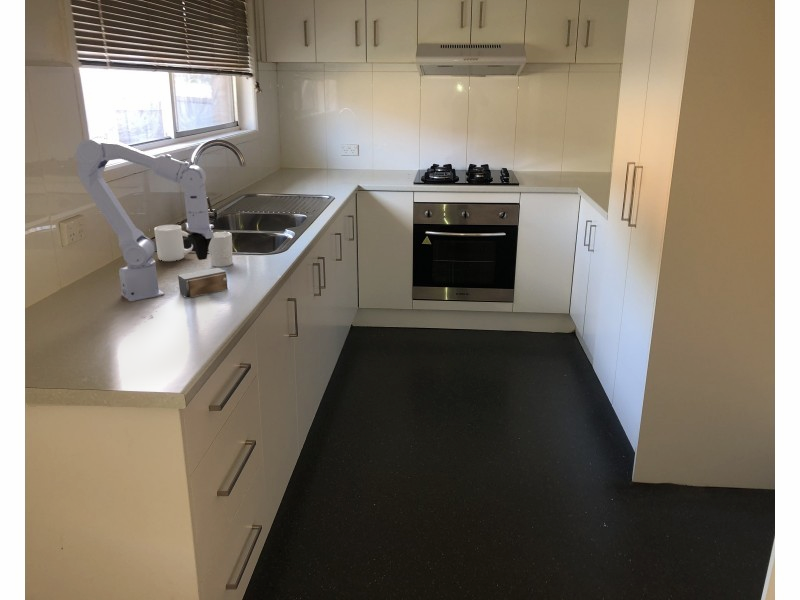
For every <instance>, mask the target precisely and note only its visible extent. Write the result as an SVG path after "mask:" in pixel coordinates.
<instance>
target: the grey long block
mask: <svg viewBox="0 0 800 600" xmlns="http://www.w3.org/2000/svg"><path fill="white" fill-rule="evenodd" d="M222 273H226V270H225V269H222V268H221V267H214V268H208V269H202V270H198V271H193V272H188V273H182V274H178V275H177V278H178V279H177V280H178V286H179V288H178V289H179V294H181V295H182V296H183V297H185V298H187V294H186V286H185V281H187V280H192V279H197V278H202V277H207V276H212V275H217V274H222ZM226 274H227V273H226Z"/></svg>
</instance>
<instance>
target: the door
mask: <svg viewBox="0 0 800 600" xmlns="http://www.w3.org/2000/svg"><path fill="white" fill-rule="evenodd" d="M185 286H186V294H187V297H186V299H187V298H189V299H190V298H194V297H199V296H204V295H208V294H212V293H217V292H221V291H226V290H228V288H229V287H228V277H227V273H222V274H217V275H212V276H207V277H202V278H197V279H192V280H187V281H185Z"/></svg>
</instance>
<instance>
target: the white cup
mask: <svg viewBox="0 0 800 600" xmlns="http://www.w3.org/2000/svg"><path fill="white" fill-rule="evenodd" d="M213 235H214V238H212V239H211V241H210V244H209V247H208V253H209V259H210V265H211V266H212V267H214V268H224V267H228V266H229V267H230V266H232V265H233V263H234V262H233V236H232V233H231V232H228V231H215V232H214V231H213Z"/></svg>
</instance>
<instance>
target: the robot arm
mask: <svg viewBox="0 0 800 600" xmlns="http://www.w3.org/2000/svg"><path fill="white" fill-rule="evenodd" d="M75 150H76V151H75V152H74V153H75V154H74V157H75V159H76V162H77V174H78V179H79V182H80V183H81V184H82V185H83V187H84V189H85V190H86V192H87V193H88V195H89V197H90V198H91V199H92V201H93V202H94V204H95V205H96V206H97V208H98V209H99V211H100V213H101V214H102V215H103V217H104V219H105V220H106V221H107V223H108V225H109V226H110V227H111V229H112V230H113V231H114V233H115V235H116V236H117V238H118V245H119V249H120V250H121V251H122V257H123V259H124V261H125V263H126V266H124V267H120V268H119V270H118V274H119V275H118V277H119V282H120V283H119V284H120V288H121V295H122V297H124V298H125V300H127V301H129V302H135V301H141V300H144V299H145V300H146V299H149V298H150V299H151V298H154V297H159V296H164V295H165V293H164V292H163V291H162V290H160V289H159V281H158V276H157V275H158V273H157V265H156V260H155V259H154V258H153V256H154V255H155V253H156V244H155V242H153V240H151V239H150V238H149V237H147V236H146V235H145V234H144V232H143V231H142V230H140V229H139V228H137V227H136V225H135V224H134V222H133V221H132V219H131V218H130V217H129V215H128V214H127V212H126V211H125V209H124V207H123V206H122V204H121V202H120V201H119V200H118V198H117V197H116V195H115V194H114V192H113V191H112V189H111V188H110V186H109V185H108V183H107V181H106V180H105V179H104V178H103V175H104V172H105V170H106V169H105V168H106V165H107V164H108V162H109V161H114V160H123V161H128V162H129V163H130V162H131V163H132V164H137V165H139V166H142V167H146V168H149V169H151V170H152V172H153V174H154V175H155V176H158V177H161V178H164V179H166V180H168V181H171V182H174V183H177V184H180V185H181V186H182V187H183V190H184V195H183V197H184V203H185V211H186V212H185V214H186V220H187V221H186V222H185V229H186V231H188V232H190V233H191V234H190V233H188V234H189V235H187V236H188V237H187V238H188V239H189V241H190V242H191V246H192V245H193V249H194V252H195V255H196V257H197V259H198V260H199V261H202V260H207V259H208V253H209V249H208V247H209V244H210V241H211V239H212V238H214V235H213V233H214V230H212V229H213V228H215V226H214V224H211V223H210V215H209V206H208V198H207V191H206V185H205V183H206V180H207V174H206V172H205V170H204V169H203V167H202V166H199V165H198V164H190V162H188V161H185V162H184V161H181V160H178V159H175V158H174V157H172V155H171V154H169V153H167V154H160V155H158V156H154V155H151V154H149V153H147V152H145V151H142V150H139V149H137V148H135V147H132V146H129V145H127V144H125V143H122V142H120V141H118V140H114V139H107V138H106V137H103V136H96V137H94V138H91V139H84V140H82V141H80V143H78V145H77V148H76V149H75Z"/></svg>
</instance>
